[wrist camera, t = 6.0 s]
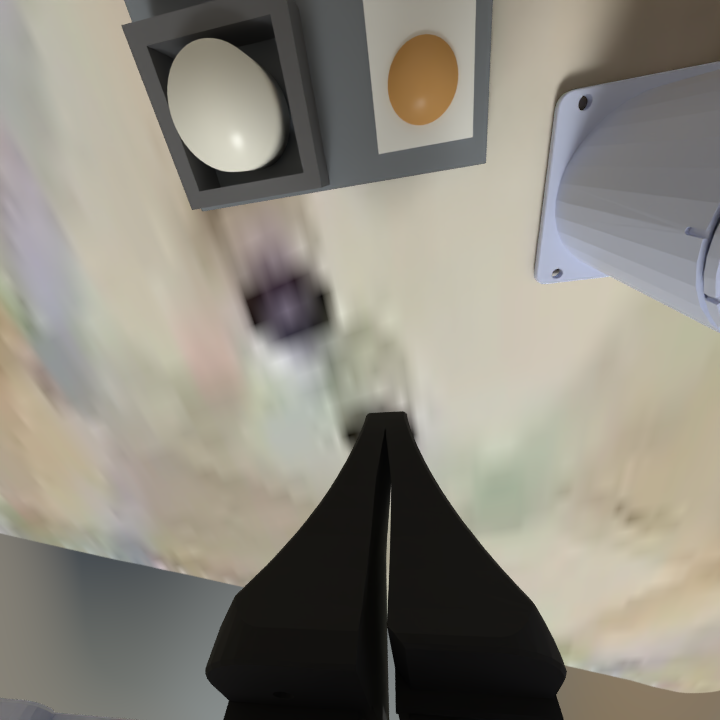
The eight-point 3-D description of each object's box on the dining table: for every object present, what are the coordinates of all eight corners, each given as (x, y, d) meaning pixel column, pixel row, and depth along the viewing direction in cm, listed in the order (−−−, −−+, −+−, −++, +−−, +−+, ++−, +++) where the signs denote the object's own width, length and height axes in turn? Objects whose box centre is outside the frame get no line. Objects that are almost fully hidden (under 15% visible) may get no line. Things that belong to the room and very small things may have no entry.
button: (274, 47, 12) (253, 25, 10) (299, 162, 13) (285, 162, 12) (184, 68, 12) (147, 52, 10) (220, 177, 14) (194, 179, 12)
